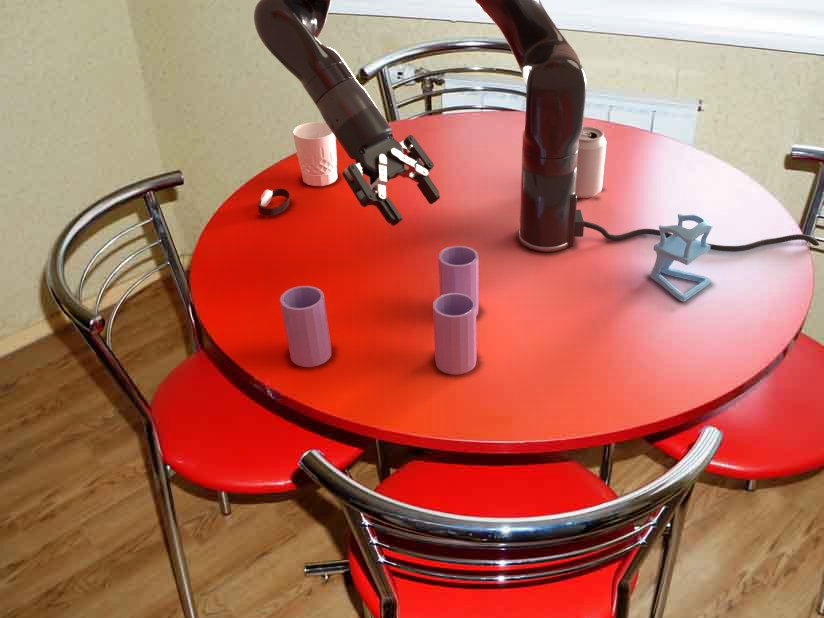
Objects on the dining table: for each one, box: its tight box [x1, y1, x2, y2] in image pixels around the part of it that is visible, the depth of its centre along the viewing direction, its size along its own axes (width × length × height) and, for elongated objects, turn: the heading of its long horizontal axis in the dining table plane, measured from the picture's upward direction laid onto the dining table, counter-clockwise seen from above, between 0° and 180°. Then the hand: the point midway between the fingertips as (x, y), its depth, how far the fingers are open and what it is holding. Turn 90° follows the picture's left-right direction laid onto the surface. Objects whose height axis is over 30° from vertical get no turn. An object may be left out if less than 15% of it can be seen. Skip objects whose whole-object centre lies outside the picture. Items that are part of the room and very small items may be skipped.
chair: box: [649, 213, 713, 303], centre depth 136 cm, size 8×8×12 cm
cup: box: [432, 293, 477, 376], centre depth 120 cm, size 6×6×10 cm
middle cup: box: [438, 245, 480, 317], centre depth 130 cm, size 6×6×10 cm
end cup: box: [279, 285, 333, 368], centre depth 121 cm, size 6×6×10 cm
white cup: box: [292, 121, 338, 187], centre depth 164 cm, size 8×8×10 cm
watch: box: [257, 187, 291, 217], centre depth 157 cm, size 8×5×4 cm, turn 159°
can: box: [575, 125, 607, 199], centre depth 161 cm, size 8×8×12 cm
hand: (417, 211), depth 127 cm, fingers open, 8 cm apart
